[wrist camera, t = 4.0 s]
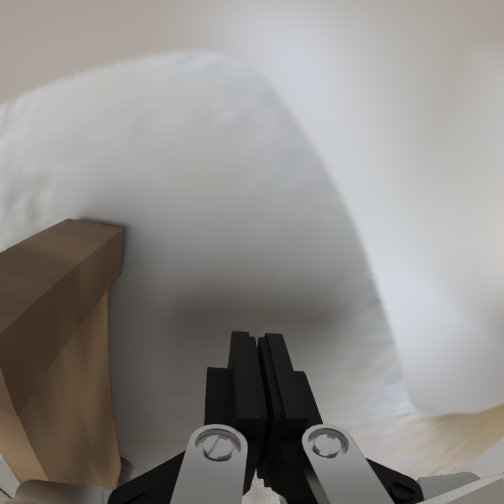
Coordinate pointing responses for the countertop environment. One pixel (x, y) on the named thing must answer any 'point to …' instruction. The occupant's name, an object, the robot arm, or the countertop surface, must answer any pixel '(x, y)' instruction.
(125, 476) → the hinge post
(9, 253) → the gate
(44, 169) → the countertop surface
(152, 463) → the countertop surface
